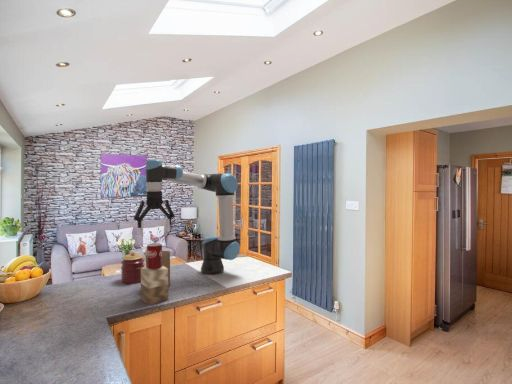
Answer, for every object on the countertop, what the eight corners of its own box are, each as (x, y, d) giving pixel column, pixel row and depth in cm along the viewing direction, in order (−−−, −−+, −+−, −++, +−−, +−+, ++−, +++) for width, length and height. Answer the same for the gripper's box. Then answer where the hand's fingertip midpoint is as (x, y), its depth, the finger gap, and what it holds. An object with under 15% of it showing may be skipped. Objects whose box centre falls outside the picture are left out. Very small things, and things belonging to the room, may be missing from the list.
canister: (145, 276, 189) (144, 248, 188) (144, 283, 177) (144, 253, 176) (122, 278, 185) (122, 249, 184) (120, 285, 173) (119, 254, 172)
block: (162, 291, 163) (161, 254, 163) (145, 290, 165) (145, 253, 165) (170, 285, 173) (170, 250, 173) (155, 283, 175) (154, 249, 175)
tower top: (159, 279, 159) (159, 264, 159) (168, 284, 152) (167, 268, 152) (140, 283, 153) (140, 267, 153) (148, 288, 145) (148, 272, 145)
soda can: (158, 265, 157) (157, 242, 157) (164, 268, 152) (164, 244, 152) (144, 268, 152) (144, 244, 152) (151, 271, 147) (150, 246, 147)
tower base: (160, 294, 160) (160, 279, 159) (168, 299, 152) (168, 284, 152) (141, 298, 153) (141, 283, 153) (148, 305, 146) (148, 288, 145)
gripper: (174, 189, 162) (174, 229, 163) (126, 191, 146) (127, 234, 147) (180, 190, 156) (181, 230, 157) (131, 191, 140) (132, 236, 141)
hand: (155, 232), depth 152 cm, fingers open, 13 cm apart
